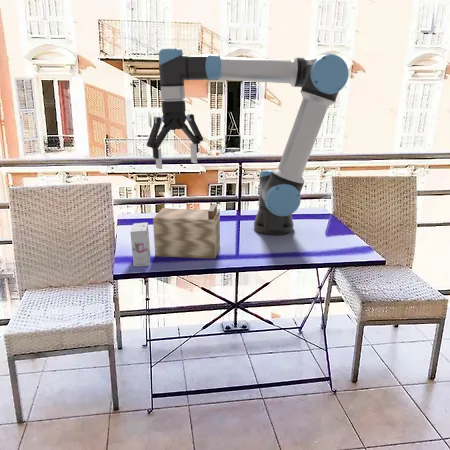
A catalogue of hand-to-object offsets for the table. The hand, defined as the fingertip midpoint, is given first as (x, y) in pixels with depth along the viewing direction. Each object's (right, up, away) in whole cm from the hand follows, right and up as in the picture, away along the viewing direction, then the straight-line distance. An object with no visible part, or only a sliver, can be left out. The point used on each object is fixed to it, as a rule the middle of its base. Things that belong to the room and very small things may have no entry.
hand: (177, 165), depth 155 cm
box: (+4, -29, +1) cm, 29 cm away
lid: (+4, -17, -3) cm, 18 cm away
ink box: (-11, -32, -7) cm, 34 cm away
